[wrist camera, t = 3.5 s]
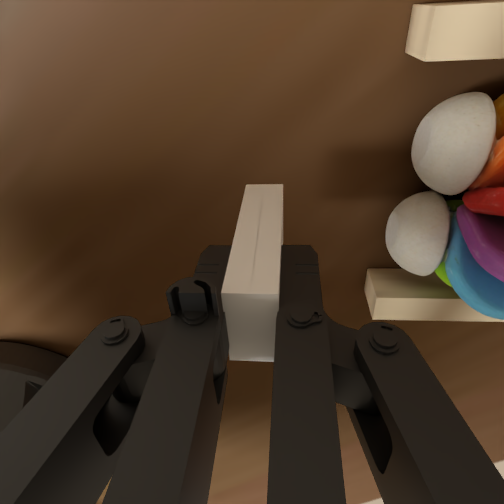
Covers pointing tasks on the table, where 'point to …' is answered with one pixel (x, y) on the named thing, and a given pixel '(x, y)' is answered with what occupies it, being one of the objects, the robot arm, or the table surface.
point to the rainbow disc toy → (457, 202)
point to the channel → (430, 49)
